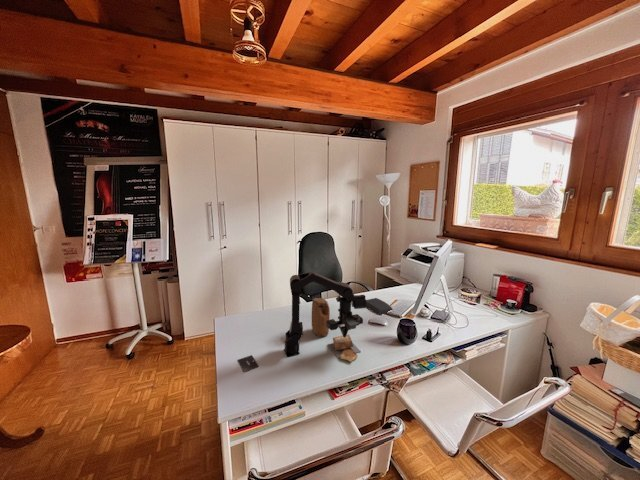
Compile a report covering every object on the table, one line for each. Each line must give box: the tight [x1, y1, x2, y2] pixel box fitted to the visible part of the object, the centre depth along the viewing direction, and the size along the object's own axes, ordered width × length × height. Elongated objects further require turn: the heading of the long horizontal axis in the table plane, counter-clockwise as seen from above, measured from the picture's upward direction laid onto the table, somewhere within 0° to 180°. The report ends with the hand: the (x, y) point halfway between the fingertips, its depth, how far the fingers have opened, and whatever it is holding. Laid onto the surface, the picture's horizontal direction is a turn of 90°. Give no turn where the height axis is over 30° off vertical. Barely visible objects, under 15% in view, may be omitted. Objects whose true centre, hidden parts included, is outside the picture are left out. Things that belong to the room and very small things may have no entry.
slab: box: [332, 333, 354, 350], centre depth 136 cm, size 3×8×9 cm
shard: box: [340, 347, 359, 363], centre depth 130 cm, size 11×8×2 cm
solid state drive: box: [237, 355, 260, 373], centre depth 123 cm, size 7×10×1 cm
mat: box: [327, 342, 361, 359], centre depth 136 cm, size 13×12×1 cm
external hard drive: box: [366, 297, 394, 316], centre depth 183 cm, size 13×19×4 cm
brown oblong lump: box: [311, 297, 331, 337], centre depth 149 cm, size 11×8×20 cm
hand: (344, 337), depth 135 cm, fingers closed
